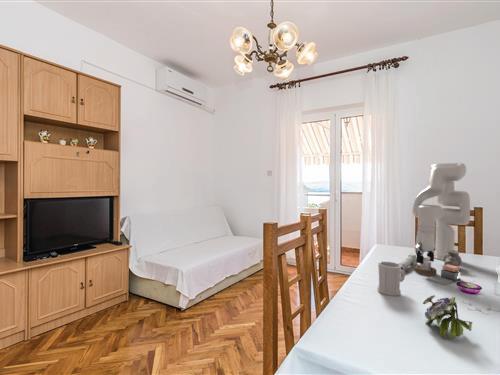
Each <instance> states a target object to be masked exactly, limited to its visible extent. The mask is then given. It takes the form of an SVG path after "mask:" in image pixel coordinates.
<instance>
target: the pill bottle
mask: <svg viewBox="0 0 500 375" xmlns="http://www.w3.org/2000/svg"><path fill="white" fill-rule="evenodd" d="M423 256H424V259H423V264H421V263H419V265H420V269H423V270H431V267H432V261H430V257H428V256H427V255H423Z"/></svg>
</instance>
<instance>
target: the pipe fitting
mask: <svg viewBox="0 0 500 375" xmlns="http://www.w3.org/2000/svg"><path fill="white" fill-rule="evenodd" d="M443 262H444V265H447V264H449V265H453V266H457V267H460V266H461V265H462V257H461V256H460V252H459V251H457V250H455V249H454V250H448V253H447V254H446V255H445V256H444V260H443Z"/></svg>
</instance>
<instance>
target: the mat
mask: <svg viewBox="0 0 500 375" xmlns="http://www.w3.org/2000/svg"><path fill="white" fill-rule="evenodd" d="M426 281H430V282H434V283H437V284H441V285H444V286H445V285H446V286H447V285H448V284H452V283H455V282H454V281H452V280H448V279H445V278H441V276H437V275H434V276H429V277H427V278H426Z"/></svg>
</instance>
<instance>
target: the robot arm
mask: <svg viewBox="0 0 500 375" xmlns="http://www.w3.org/2000/svg"><path fill="white" fill-rule="evenodd" d="M466 173H467V167H466V165H465V163H463V162H448V163H446V162H445V163H442V162H441V163H435V164H432V165H431V166H430V172H429V178H428V181H427V186H426V188H424V189H423V190H422V191H420V192H419V194H417V196H416V197H415V198H414V201H413V205H412V215H413V216H414V217H415V218H417V232H416V236H415V238H416V239H415V247H414V250H415V255H416V262H417V264H420V263H421V264H423V259H424V256H425V255H424V253H426V252H427V253H426V256H428V257H430V261H431V263H432V262H434V261H435V259H437V260H442V261H444V256H445V255H446V254H447V253H448V250H455V234H456V232H455V229H454V228H453V227H452V225H459V226H460V225H461V226H466V225H468V224H469V223H470V221H471V197H470V194H469V193H468V192H467V191H463V190H455V182H458V181H461V180H462V179H463V178H464V177H465V176H466ZM434 197H437V203H438V205H435V204H424V202H425V201H427V200H429V199H432V198H434ZM422 203H423V204H422ZM440 205H441V206H440ZM442 206H443V207H442ZM451 207H458V208H451Z"/></svg>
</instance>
